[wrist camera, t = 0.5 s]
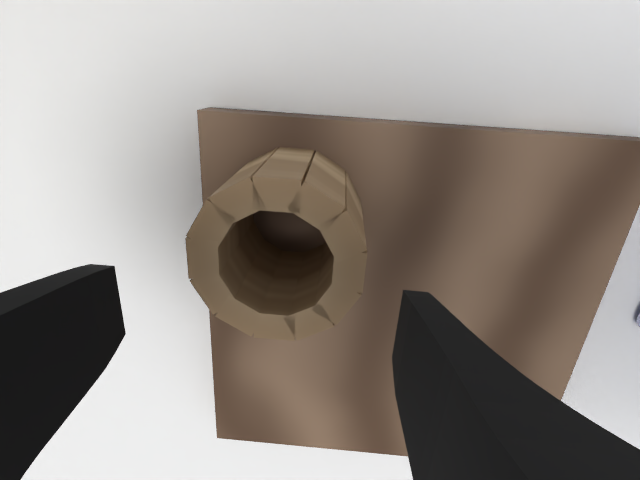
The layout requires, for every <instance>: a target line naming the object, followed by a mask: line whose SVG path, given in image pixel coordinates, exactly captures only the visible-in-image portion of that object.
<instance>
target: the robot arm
mask: <svg viewBox="0 0 640 480" xmlns="http://www.w3.org/2000/svg"><path fill="white" fill-rule="evenodd" d="M636 322H637V325H638V326H640V313H639V315H638V317H637V321H636ZM124 336H125V328H124V322H123V316H122V310H121V304H120V297H119V291H118V285H117V279H116V273H115V267H114V266H106V265H94V264H89V265H85V266H80V267H77V268H73V269H70V270H66V271H63V272H60V273H57V274H54V275H51V276H48V277H45V278H42V279H39V280H36V281H33V282H30V283H27V284H25V285H22V286H19V287H16V288H13V289H10V290H7V291H4V292H2V293H0V480H21V478H22V476H23V475H24V473H25V472H26V471H27V469H28V468H29V467H30V465H31V464H32V462H33V461H34V460H35V458H36V457H37V456H38V454H39V453H40V452H41V450H42V449H43V448H44V446H45V445H46V444H47V443H48V441H49V440H50V439H51V438H52V436H53V435H54V434H55V433H56V431H57V430H58V429H59V427H60V426H61V425H62V424H63V422H64V421H65V420H66V419H67V417H68V416H69V415H70V414H71V412H72V411H73V410H74V409H75V407H76V406H77V405H78V403H79V402H80V401H81V400H82V398H83V397H84V396H85V395H86V393H87V392H88V391H89V389H90V388H91V387H92V386H93V384H94V383H95V382H96V380H97V379H98V378H99V376H100V375H101V374H102V372H103V371H104V370H105V368H106V367H107V365H108V364H109V362H110V360H111V359H112V357H113V355H114V354H115V352H116V350H117V348H118V347H119V345H120V343H121V341H122V339H123V338H124ZM392 365H393V378H394V388H395V397H396V401H397V406H398V411H399V416H400V421H401V425H402V430H403V434H404V439H405V444H406V448H407V453H408V457H409V462H410V467H411V471H412V476H413V480H640V450H639V449H638V448H636V447H634V446H632V445H631V444H629V443H627V442H626V441H624V440H622V439H621V438H619V437H617V436H616V435H614V434H612V433H611V432H609V431H607V430H606V429H604V428H602V427H601V426H599V425H597V424H596V423H594V422H592V421H591V420H589V419H588V418H586V417H584V416H583V415H581V414H580V413H578V412H577V411H575V410H573V409H572V408H570V407H569V406H567V405H566V404H564V403H563V402H562V401H560V400H559V399H557V398H556V397H554V396H553V395H551V394H550V393H549V392H547V391H546V390H544V389H543V388H541V387H540V386H538V385H537V384H536V383H534V382H533V381H532V380H530V379H529V378H527V377H526V376H525V375H523V374H522V373H521V372H519V371H518V370H517V369H516V368H514V367H513V366H512V365H511V364H509V363H508V362H507V361H506V360H504V359H503V358H502V357H501V356H499V355H498V354H497V353H496V352H495V351H493V350H492V349H491V348H490V347H489V346H487V345H486V344H485V343H484V342H483V341H482V340H481V339H479V338H478V337H477V336H476V335H475V334H474V333H473V332H472V331H470V330H469V329H468V328H467V327H466V326H465V325H464V324H463V323H462V322H461V321H460V320H458V319H457V318H456V317H455V316H454V315H453V314H452V313H451V312H450V311H449V310H448V309H447V308H446V307H445V306H444V305H442V304H441V303H440V302H439V301H438V300H437V299H436V298H435V297H434V296H433V295H431V294H430V293H429V292H423V291H410V290H403V293H402V299H401V305H400V311H399V317H398V323H397V329H396V335H395V341H394V347H393V353H392Z"/></svg>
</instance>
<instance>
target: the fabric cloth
mask: <svg viewBox="0 0 640 480" xmlns="http://www.w3.org/2000/svg"><path fill="white" fill-rule="evenodd" d="M197 114H198V131H199V147H200V164H201V181H202V197H203V205H204V203H205V201H206V199H208V198H209V197H210V196H211V195H212V194H213V193H214V192H215V191H216V190H218V189H219V188H220V187H221V186H222V185H223V184H224V183H226V182H227V181H228V180H229V179H230V178H231V177H232V176H233V175H235V174H236V173H237V172H238V171H239V170H240V169H241V168H242V167H244V166H245V165H246V164H247V163H248V162H250V161H252V160H254V159H256V158H258V157H260V156H262V155H264V154H266V153H268V152H270V151H272V150H274V149H276V148H279V147H285V148H299V149H313V150H314V154H315V152H316V151H318V152H320V153H321V154H323V155H324V156H326V157H327V158H328V159H330V160H331V161H333V162H334V163H336V164H337V165H339V166H340V167H342V168H343V169H345V172H347V173H348V175H349V178H350V180H351V182H352V184H353V186H354V188H355V190H356V192H357V194H358V197H359V199H360V201H361V207H362V215H363V222H364V230H365V238H366V246H367V260H366V269H365V277H364V285H363V293H361V297H360V298H359V299H358V300H357V301H356V303H355V304H354V305H353V306H352V307H351V309H350V310H349V311H348V312H347V313H346V315H345V316H344V317H343V318H342V319H341V321H340V322H339V323H338V324H337V325H336V324H334V327H332V328H330V329H327V330H324V331H322V332H319V333H316V334H314V335H311V336H308V337H306V338H303V339H301V340H298V341H297V339H296V338H295V341H288V340H276V339H265V338H254V333H253V335H252V336H249V335H247V334H245V333H244V332H242V331H240V330H238V329H237V328H235V327H233V326H231V325H229V324H228V323H226V322H224V321H222V320H221V319H219V318H217V317H215V316H216V314H217V313H215V314H212V312H211V311H210V310H209V313H210V329H211V346H212V363H213V379H214V396H215V412H216V429H217V438H223V439H233V440H244V441H254V442H265V443H275V444H285V445H296V446H306V447H317V448H327V449H337V450H348V451H358V452H369V453H379V454H389V455H400V456H408V453H407V448H406V444H405V439H404V434H403V430H402V425H401V421H400V416H399V411H398V406H397V401H396V397H395V388H394V378H393V365H392V353H393V347H394V341H395V335H396V329H397V323H398V317H399V311H400V305H401V299H402V293H403V290H410V291H423V292H429V293H430V294H431V295H433V296H434V297H435V298H436V299H437V300H438V301H439V302H440V303H441V304H442V305H444V306H445V307H446V308H447V309H448V310H449V311H450V312H451V313H452V314H453V315H454V316H455V317H456V318H457V319H458V320H460V321H461V322H462V323H463V324H464V325H465V326H466V327H467V328H468V329H469V330H470V331H472V332H473V333H474V334H475V335H476V336H477V337H478V338H479V339H481V340H482V341H483V342H484V343H485V344H486V345H487V346H489V347H490V348H491V349H492V350H493V351H495V352H496V353H497V354H498V355H499V356H501V357H502V358H503V359H504V360H506V361H507V362H508V363H509V364H511V365H512V366H513V367H514V368H516V369H517V370H518V371H519V372H521V373H522V374H523V375H525V376H526V377H527V378H529V379H530V380H532V381H533V382H534V383H536V384H537V385H538V386H540V387H541V388H543V389H544V390H546V391H547V392H549V393H550V394H551V395H553V396H554V397H556V398H557V399H559V400H560V401H561V399H562V396H563V394H564V391H565V389H566V386H567V384H568V381H569V379H570V376H571V374H572V371H573V369H574V366H575V364H576V361H577V359H578V357H579V354H580V352H581V349H582V347H583V344H584V342H585V339H586V337H587V334H588V332H589V329H590V327H591V324H592V322H593V319H594V317H595V314H596V312H597V309H598V307H599V304H600V302H601V299H602V297H603V295H604V292H605V290H606V287H607V285H608V282H609V280H610V277H611V275H612V272H613V270H614V267H615V265H616V262H617V260H618V257H619V255H620V252H621V250H622V247H623V245H624V242H625V240H626V237H627V235H628V233H629V230H630V228H631V225H632V223H633V220H634V218H635V215H636V213H637V210H638V208H639V205H640V138H638V137H627V136H612V135H598V134H584V133H569V132H555V131H540V130H526V129H512V128H497V127H483V126H468V125H454V124H440V123H425V122H411V121H396V120H382V119H368V118H353V117H339V116H324V115H310V114H296V113H281V112H267V111H253V110H238V109H224V108H205V109H201V110H197ZM253 221H254V223H255V225H256V227H257V228H258V230H259V232H260V233H261V235H262V237H263V238H264V240H266V241H267V242H269V243H271V244H272V245H274V246H275V247H277V248H279V249H280V250H282V251H290V252H303V253H304V252H306V251H309V250H311V249H313V248H316V247H318V246H320V245H322V244H324V242H325V239H324V237H323V235H322V233H321V231H320V230H319V229H317V228H316V227H314V226H312V225H311V224H309V223H308V222H306V221H305V220H303V219H301V218H300V217H298V216H297V215H295V214H294V213H288V212H275V211H262V210H260V211H258V212H256V213H253Z"/></svg>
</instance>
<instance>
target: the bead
mask: <svg viewBox="0 0 640 480" xmlns="http://www.w3.org/2000/svg"><path fill="white" fill-rule="evenodd" d="M260 210H262V211H275V212H288V213H294V214H295V215H297V216H298V217H300V218H301V219H303V220H305V221H306V222H308V223H309V224H311V225H312V226H314V227H316V228H317V229H319V230H320V231H321V233H322V235H323V237H324V239H325V242H324V244H322V245H320V246H318V247H316V248H313V249H311V250H309V251H306V252H304V253H303V252H290V251H282V250H280V249H279V248H277V247H275V246H274V245H272V244H271V243H269V242H267V241H266V240H264V238H263V237H262V235H261V233H260V232H259V230H258V228H257V227H256V225H255V223H254V221H253V213H256V212H258V211H260ZM186 236H187V237H186V238H185V239H186V251H187V263H188V275H189V278H190V279H191V280H190V282H191V284H192V285H193V286H194V288H195V289H196V291H197V292H198V294H199V295H200V297H201V298H202V299H203V301H204V302H205V304H206V305H207V307H208V308H209V310H210V311H211V312H212V314H215V313H217V314H216V316H215V317H217V318H219V319H221V320H222V321H224V322H226V323H228V324H229V325H231V326H233V327H235V328H237V329H238V330H240V331H242V332H244V333H245V334H247V335H249V336H252V335H253V333H254V338H265V339H276V340H288V341H295V338H296V339H297V341H298V340H301V339H303V338H306V337H308V336H311V335H314V334H316V333H319V332H322V331H324V330H327V329H330V328H332V327H334V324H336V325H337V324H338V323H339V322H340V321H341V319H342V318H343V317H344V316H345V315H346V313H347V312H348V311H349V310H350V309H351V307H352V306H353V305H354V304H355V303H356V301H357V300H358V299H359V298H360V297H361V293H363V285H364V277H365V269H366V260H367V246H366V238H365V230H364V222H363V215H362V207H361V201H360V199H359V197H358V194H357V192H356V190H355V188H354V186H353V184H352V182H351V180H350V178H349V175H348V173H347V172H345V169H343V168H342V167H340V166H339V165H337V164H336V163H334V162H333V161H331V160H330V159H328V158H327V157H326V156H324V155H323V154H321V153H320V152H318V151H316V152H315V154H314V150H313V149H299V148H285V147H279V148H276V149H274V150H272V151H270V152H268V153H266V154H264V155H262V156H260V157H258V158H256V159H254V160H252V161H250V162H248V163H247V164H246V165H245V166H244V167H242V168H241V169H240V170H239V171H238V172H237V173H236V174H235V175H233V176H232V177H231V178H230V179H229V180H228V181H227V182H226V183H224V184H223V185H222V186H221V187H220V188H219V189H218V190H216V191H215V192H214V193H213V194H212V195H211V196H210V197H209V198H208V199H206V201H205V203H204V205H203V207H202V208H201V210H200V212H199V214H198V215H197V217H196V219H195V221H194V222H193V224H192V226H191V228H190V230H189V231H188V233H187V235H186Z"/></svg>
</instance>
